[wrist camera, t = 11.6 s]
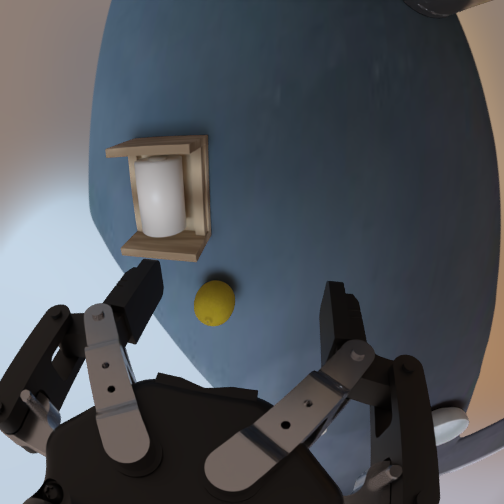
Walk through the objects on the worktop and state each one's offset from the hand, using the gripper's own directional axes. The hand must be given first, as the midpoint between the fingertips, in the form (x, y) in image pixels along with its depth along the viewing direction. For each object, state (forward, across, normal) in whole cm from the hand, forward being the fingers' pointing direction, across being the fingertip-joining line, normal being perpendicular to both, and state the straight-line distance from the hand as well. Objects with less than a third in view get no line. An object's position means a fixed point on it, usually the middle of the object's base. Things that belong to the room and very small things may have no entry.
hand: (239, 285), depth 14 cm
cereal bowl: (+23, -50, +57) cm, 79 cm away
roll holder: (+24, +13, +4) cm, 27 cm away
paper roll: (+20, +13, +4) cm, 24 cm away
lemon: (+23, +6, +19) cm, 31 cm away
